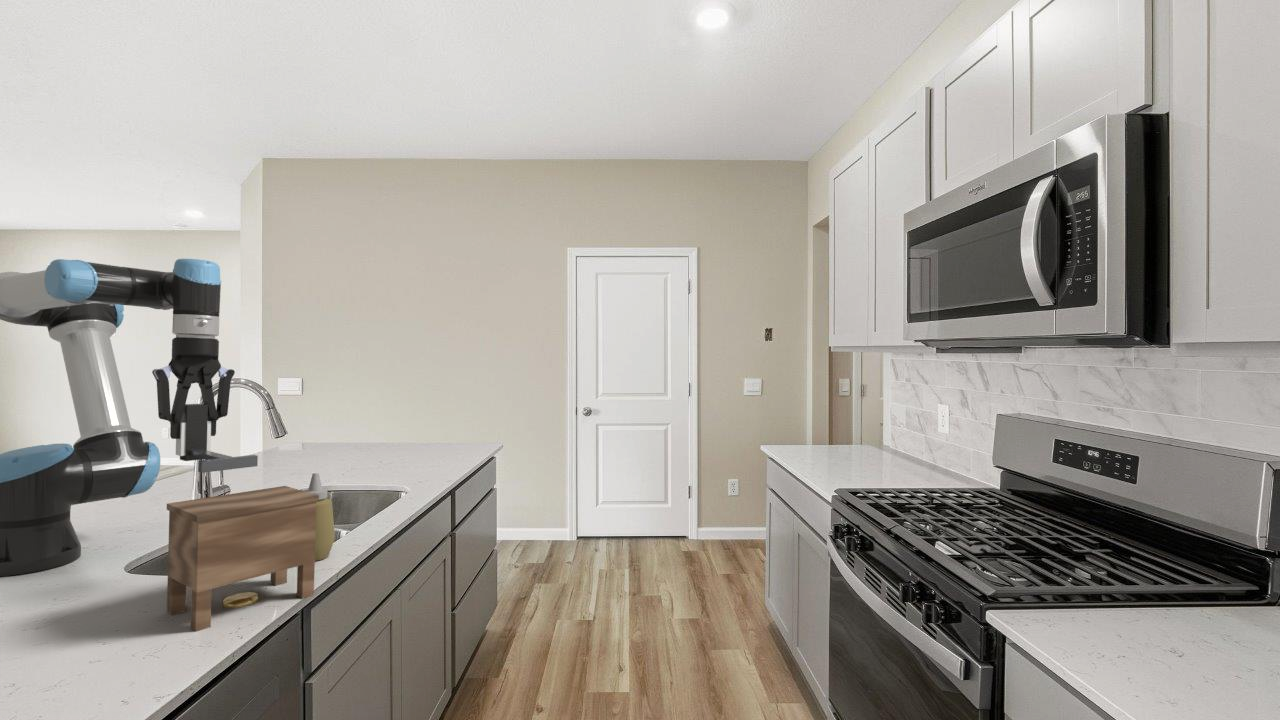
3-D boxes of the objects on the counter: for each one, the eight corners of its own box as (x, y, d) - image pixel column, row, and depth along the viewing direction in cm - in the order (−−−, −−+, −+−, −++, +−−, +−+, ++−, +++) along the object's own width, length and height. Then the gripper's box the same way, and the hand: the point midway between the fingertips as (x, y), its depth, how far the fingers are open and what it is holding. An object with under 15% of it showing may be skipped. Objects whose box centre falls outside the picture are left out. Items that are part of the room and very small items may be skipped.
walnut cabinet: (163, 611, 98) (166, 503, 98) (282, 579, 113) (285, 485, 113) (194, 632, 91) (197, 516, 91) (316, 594, 106) (318, 495, 106)
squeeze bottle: (315, 565, 121) (318, 478, 121) (282, 562, 123) (284, 476, 123) (343, 553, 129) (345, 471, 129) (311, 550, 130) (313, 469, 131)
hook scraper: (162, 461, 115) (164, 405, 115) (216, 455, 122) (217, 402, 122) (201, 472, 104) (203, 411, 104) (257, 466, 112) (258, 408, 112)
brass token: (217, 604, 102) (218, 599, 102) (249, 595, 106) (250, 590, 106) (230, 612, 99) (231, 606, 99) (263, 602, 103) (263, 596, 103)
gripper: (151, 334, 109) (148, 461, 109) (250, 338, 123) (247, 451, 123) (137, 335, 113) (134, 456, 113) (234, 339, 127) (231, 447, 127)
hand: (193, 453), depth 118 cm, fingers closed on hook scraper, 3 cm apart
